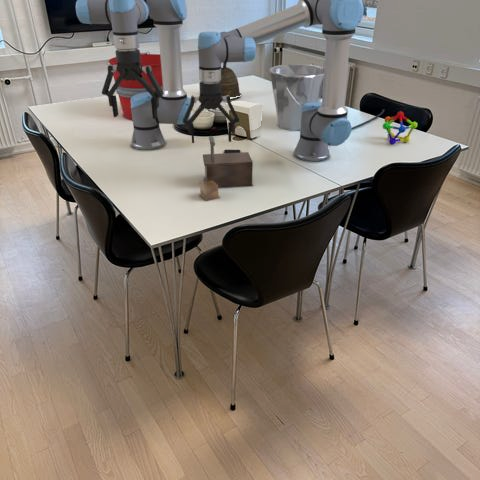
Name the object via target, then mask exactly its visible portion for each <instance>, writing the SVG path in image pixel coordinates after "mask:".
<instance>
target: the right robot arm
mask: <svg viewBox="0 0 480 480" xmlns="http://www.w3.org/2000/svg"><path fill="white" fill-rule="evenodd" d="M364 9H365V8H364V3H363V1H362V0H298V1H297V3H296V4H294V5H292V6H290V7H287V8H284V9H281V10H279V11H277V12H275V13H272V14H269V15H267V16H264V17H262V18H259V19H257V20H254V21H251V22H249V23H247V24H244V25H241V26H238V27H236V28H234V29H232V30H229V31H220V32H219V31H208V30H207V31H202V32H200V33H199V34H198V37H197V38H198V39H197V53H198V54H197V55H198V80H199V96H194V95H191V96H190V98H191V102H190V104H189V106H188V109H187V111H186V113H185V115H184V118H183V123H184V124H183V125H187V133H188V134H189V135H191V144H195V130H194V129H195V128H194V122H195V120H197V118H198V117H199V115H200V114H201V113H202V112H203V111H204V110H207V111H208V110H216V109H218V110H219V112H220V113H222V114H223V115H224V117H225V118H226V119H227V120H228V123H227V124H228V125H227V129H228V130H227V131H228V132H227V134H228V135H227V137H228V138H227V140H228V142H229V143H232V133H234V132H235V124H236V123H239V122H240V118H239V116H238V114H237V112H236V110H235V108H234V106H233V104H232V101H231V100H232V99H230V96H229V95H226V96H222V95H221V82H219V81H221V68H222V64H223V63H226V62H227V63H246V62H253V61H254V60H255V58H256V55H257V45H259V44H261V43H263V42H266V41H270V40H271V39H274V38H277V37H279V36H281V35H283V34H287V33H289V32H292V31H295V30H296V29H299V28H302V27H304V28H309V27H311V26H317V25H321V26H322V29H321V30H322V31H321V35H322V36H323V37H324V38H325V48H324V64H323V65H324V66H323V67H324V79H323V94H322V97H321V101H320V102H311V103H306V104H304V105H303V107H302V112H301V113H302V116H301V129H300V130H299V139H298V141H297V143H296V147H295V149H294V157H295V158H296V159H298V160H300V161H305V162H312V163H313V162H315V163H316V162H317V163H318V162H323V161H326V160H328V159H329V158H330V149H329V146H331V147H338V146H340V145H342V144H345V141H347V140H348V139H349V138H350V136H351V134H352V130H354V129H357V128H359V127H361V126H364V125H366V124H368V123H370V122H372V121H375V120H376V119H377V118H379V117H380V116H382V115H383V114H384V112H386V111H385V109H383V108H382V110H381V112H380V113H379V114H377V115H375V116H374V117H372V118H370V119H368V120H366V121H364V122H362V123H359V124H357V125H355V126H352V123H351V122H350V121H349V119H348V112H349V111H348V110H349V109H348V108H347V106H346V105H345V101H346V91H347V90H346V89H347V80H348V69H349V57H350V48H351V47H350V46H351V39H352V38H353V36H355V35H356V29H357V27H358V26H359V25H360V23H361V21H362V19H363V17H364V13H365V12H364ZM222 100H223V101H224V102H225V103H226V104H227V106H228V108H229V110H230V111H231V114H232V116H233V117H232V116H231V115H230V113H228V111H227V110H226V109H225V108H224V107H223V106H222V102H223V101H222ZM197 102H199V103H200V105H199V106H198V107H197V108H196V110H195V111H194V112H193V114H192V115H191V113H192V111H193V108H194V107H195V104H197ZM189 115H190V118H189V120H188V117H189Z"/></svg>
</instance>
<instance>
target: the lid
mask: <svg viewBox="0 0 480 480" xmlns="http://www.w3.org/2000/svg"><path fill="white" fill-rule="evenodd" d="M208 141H209V145H210V153H205V154H202V161H203V165H204V168H205V167H206V166H225V165H244V164H254V163H253V162H254V161H253V159H252V157H251V155H250V153H249V152H248V151H245V152H244V151H243V152H240V153H224V152H223V153H215V145H216V142H215V138H214V136H212V135H210V136H209V137H208Z"/></svg>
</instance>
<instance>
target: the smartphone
mask: <svg viewBox="0 0 480 480" xmlns="http://www.w3.org/2000/svg"><path fill="white" fill-rule="evenodd" d="M223 153H241V150H240V149H224V151H223Z"/></svg>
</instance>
